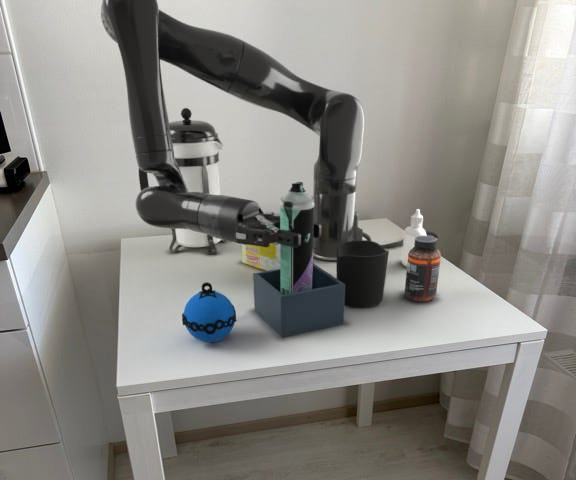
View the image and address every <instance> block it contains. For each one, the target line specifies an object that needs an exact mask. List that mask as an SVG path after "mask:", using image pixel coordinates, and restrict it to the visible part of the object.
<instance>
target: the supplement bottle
mask: <svg viewBox="0 0 576 480" xmlns="http://www.w3.org/2000/svg"><path fill="white" fill-rule="evenodd" d="M414 245H415V246H414V247H413V248H412V249H411V250H410V251H409V253H408V262H407V267H406V273H405V282H404V283H405V284H404V297H405V298H406V299H409V300H410V301H413V302H419V303H420V302H421V303H423V302H430V301H431V300H434V299H435V298H436V296H437V292H438V283H439V276H440V268H441V259H442V254H441V251H440V250H439V249H438V248H437V246H438V238H435V237H434V236H433V235H427V236H418V237H416V238H415V244H414Z"/></svg>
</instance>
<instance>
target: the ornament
mask: <svg viewBox="0 0 576 480" xmlns="http://www.w3.org/2000/svg"><path fill="white" fill-rule="evenodd" d="M206 287H208V289H206ZM181 319H182V320H181V321H182V325H183V326H185V328H186V330H187V331H188V333H189V334H190V335H191V336H192V337H193V338H194V339H196V340H198V341H201V342H205V343H210V344H211V343H215V342H219V341H222V340H224V339H225V338H226V337H227V336H228V335H230V333H231V332H232V330H233V328H234V326H235V322H237V311H236V309H235V306H234V304H233V303H232V302H231V301H230V299H229V298H228V297H227V296H225V294H222V293H220V292H219V291H217V290H215V289H213V285H212V284H211V283H210V282H207V281H206V282H204V283H202V284H201V290H200V291H198V292H197V293H195V294H194V295H192V297H190V298H189V299H188V301H187V302H186V304H185V307H184V309H183V313H182V314H181Z"/></svg>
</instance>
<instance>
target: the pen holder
mask: <svg viewBox="0 0 576 480" xmlns="http://www.w3.org/2000/svg"><path fill="white" fill-rule="evenodd" d="M381 245H382V244H379V243H378V242H377V241H373V240H371V241H367V239H365V240H363V239H362V240H355V241H347V242H344V243H341V244H339V245H338V246H337V250H336V261H335V262H336V266H335V267H336V268H335V269H336V279H338V280H339V281H341V282H342V283H344V284H345V304H344V306H346V307H349V308H354V309H367V308H373V307H376V306H378V305H379V304H380V303H382V301H383V298H384V293H385V285H386V276H387V269H388V263H389V254H390V253H389V252H390V251H389V250H386V248H383V247H382V246H381Z"/></svg>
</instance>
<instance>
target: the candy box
mask: <svg viewBox="0 0 576 480" xmlns="http://www.w3.org/2000/svg"><path fill="white" fill-rule="evenodd" d="M241 259H242V261H241V262H242V264H245V265H249V266H251V267H254V268H257V269H260V270H262V271H269V270H275V269H280V243H279V245H273V244H271V243H270V246H269V247H261V246H254V245H244V244H241Z"/></svg>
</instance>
